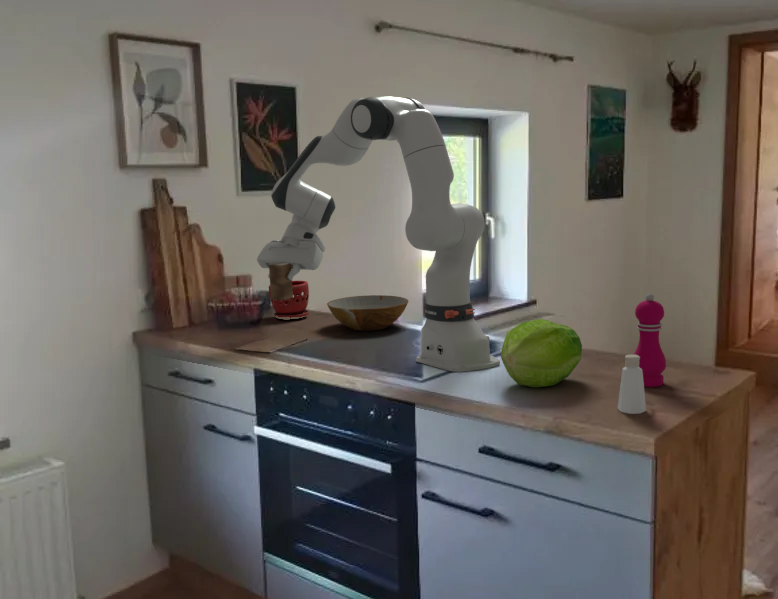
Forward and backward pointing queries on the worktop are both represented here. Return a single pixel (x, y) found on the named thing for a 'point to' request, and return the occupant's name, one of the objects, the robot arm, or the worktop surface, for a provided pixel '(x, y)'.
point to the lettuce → (540, 353)
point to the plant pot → (293, 301)
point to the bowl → (368, 311)
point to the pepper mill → (650, 341)
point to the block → (280, 281)
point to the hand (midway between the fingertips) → (279, 278)
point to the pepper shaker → (632, 387)
